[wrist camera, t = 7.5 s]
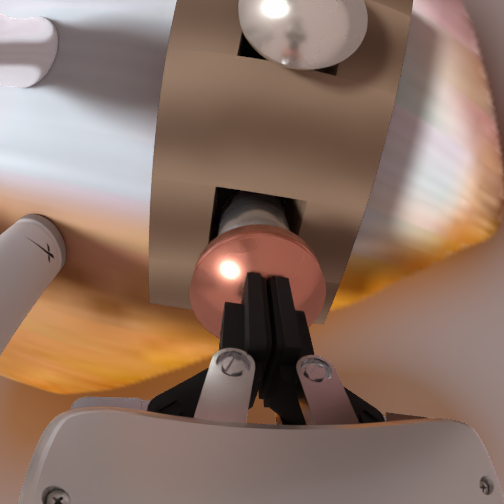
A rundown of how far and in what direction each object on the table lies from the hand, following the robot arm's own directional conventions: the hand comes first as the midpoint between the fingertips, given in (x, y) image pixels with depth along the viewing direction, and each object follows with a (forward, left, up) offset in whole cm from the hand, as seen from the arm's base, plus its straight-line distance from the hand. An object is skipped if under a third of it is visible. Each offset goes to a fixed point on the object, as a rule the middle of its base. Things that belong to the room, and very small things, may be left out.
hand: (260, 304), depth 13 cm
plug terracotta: (0, 0, -8) cm, 8 cm away
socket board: (-6, 0, -12) cm, 13 cm away
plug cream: (-12, 0, -12) cm, 17 cm away
